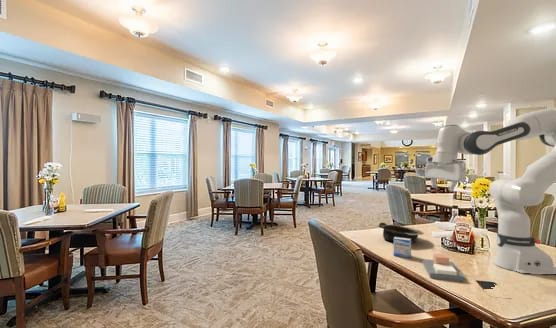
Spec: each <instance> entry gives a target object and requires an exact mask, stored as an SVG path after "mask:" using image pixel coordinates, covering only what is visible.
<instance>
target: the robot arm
mask: <svg viewBox="0 0 556 328" xmlns="http://www.w3.org/2000/svg"><path fill="white" fill-rule="evenodd" d="M535 137H536V138H537V137H539V140H540V141H541V143H542V144H544V145H545V146H549V147H552V149H551V151H550V152H548V153H546V154H545V155H543V156H541V157H540V158H538V159H537V160H535V161H534V162H532V163H531V164H529V165H528V166H527V167H526V168H525V172H524V173H523V174H522V175H521V176H520V177H518V178H515V179H514V178H505V177H504V178H499V179H496V180H493V181H492V182H491V183H490V184H489V187H488V192H489V193H490V196H491V197H492V198H493V201H494V204H495V207H496V212H497V217H498V218H497V219H498V220H497V222H498V225H497V229H498V230H497V232H496V234H497V235H496V246H497V248H496V254H495V257H494V260H493V264H494V265H496V266H498V267H500V268H503V269H506V270H510V271H514V272H516V271H517V273H519V272H520V273H519V274H523V273H531V274H530V275H542V274H556V266H555V263H554V260H553V258H552V257H551V255H549V254H548V253H547V252H545V251H544V250H542V249H541V248H539V247H538V246H537V245H541V239H540V238H539V239H538V238H535V237H533V236H531V218H530V216H529V215H528V213H527V212H526V210H525V207H534V206H538V205H540V204H541V203H542V202H543V201H544V200H545V198H546V197H545V195H546V191H547V190H548V189H549V188H550V187H551V186H552V185H554V184H555V183H556V110H555V109H553V108H546V109H539V110H533V111H529V112H526V113H523V114H520V115H518V116H515V117H513V118H511V119H510V120H508V121H507V123H506V126H504V127H501V128H500V127H499V128H497V129H495V130H494V129H493V130H491V131H490V130H489V131H488V130H478V131H474V132H470V131H467V130H465V129H464V128H462V127H461V126H460V125H459V124H449V125H444V126H442V127H440V128H439V131H438V134H437V139H436V140H437V141H436V146H437V147H436V151H435V154H434V155H432V156H429V157H427V158H426V159H425V160H426V161H425V162H426V164H425V165H424V166H425V167H424V177H425V178H430V182H431V188H433V189H438V184H437V183H436V181H437V179H438V180H446V181H450V185H449V186H448V188H447V191H450V192H454V191H455V188H456V186H457V185H458V182H462V183H463V182H465V181H466V179H467V169H466V162H465V161H464V160H461V159H460V160H458V155H459V154H463V155H466V156H468V155H477V156H481V155H482V156H483V155H486V154H488V153H489V152H491V151H493V150H494V148H495V147H498V146H500V145H503V144H505V143H508V142H511V141H521V140H522V141H523V140H527V139H533V138H535Z"/></svg>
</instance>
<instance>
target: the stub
mask: <svg viewBox="0 0 556 328" xmlns="http://www.w3.org/2000/svg"><path fill="white" fill-rule="evenodd" d="M432 260H433V263H434V264H443V265H449V262H450V257H449V256H448V255H447V254H445V253H444V254H443V253H433V259H432Z"/></svg>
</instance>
